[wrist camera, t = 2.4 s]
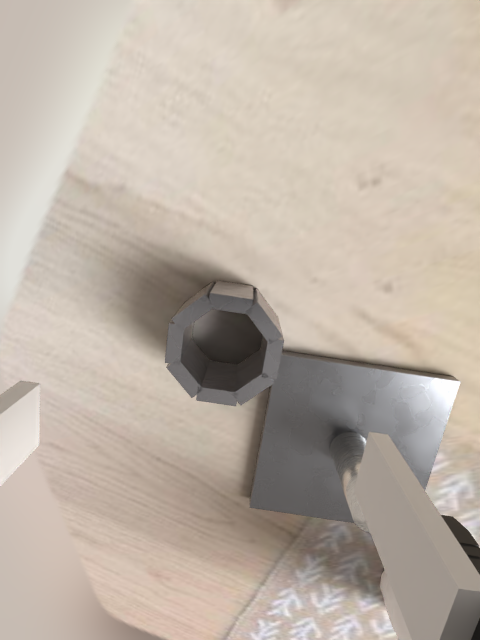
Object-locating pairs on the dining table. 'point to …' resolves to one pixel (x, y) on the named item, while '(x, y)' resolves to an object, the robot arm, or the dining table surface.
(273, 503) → the piston jig
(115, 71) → the dining table surface
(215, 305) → the ring
